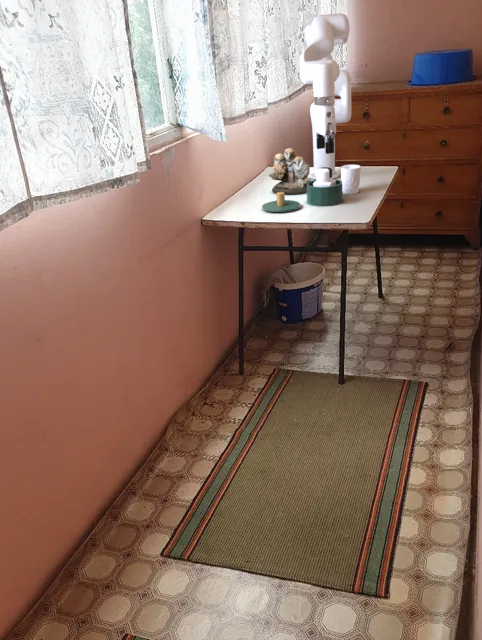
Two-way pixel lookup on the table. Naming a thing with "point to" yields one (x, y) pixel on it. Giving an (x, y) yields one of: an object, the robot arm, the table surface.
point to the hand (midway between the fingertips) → (325, 150)
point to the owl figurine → (290, 173)
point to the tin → (324, 194)
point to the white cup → (350, 179)
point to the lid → (281, 204)
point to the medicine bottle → (324, 177)
